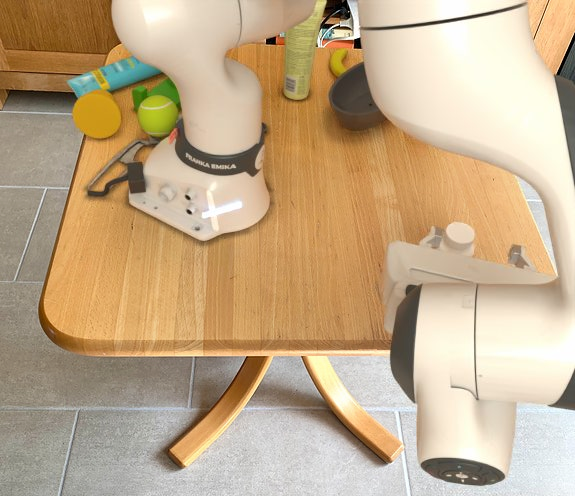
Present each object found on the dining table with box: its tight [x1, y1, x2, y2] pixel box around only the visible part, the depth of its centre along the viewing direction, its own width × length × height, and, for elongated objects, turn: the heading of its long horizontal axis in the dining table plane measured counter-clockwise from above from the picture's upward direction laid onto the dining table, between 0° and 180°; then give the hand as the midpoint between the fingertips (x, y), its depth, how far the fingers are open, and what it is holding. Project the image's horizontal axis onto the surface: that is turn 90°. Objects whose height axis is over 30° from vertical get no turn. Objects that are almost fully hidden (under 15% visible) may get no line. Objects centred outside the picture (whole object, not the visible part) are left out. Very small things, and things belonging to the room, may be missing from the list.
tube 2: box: [282, 0, 328, 101], centre depth 111 cm, size 6×5×20 cm
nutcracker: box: [86, 135, 161, 191], centre depth 103 cm, size 16×1×5 cm
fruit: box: [329, 47, 349, 78], centre depth 124 cm, size 10×2×5 cm
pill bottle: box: [433, 221, 476, 257], centre depth 87 cm, size 5×5×10 cm
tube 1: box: [66, 55, 164, 100], centre depth 117 cm, size 7×5×19 cm
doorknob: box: [71, 89, 123, 139], centre depth 107 cm, size 8×8×8 cm
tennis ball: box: [137, 95, 180, 138], centre depth 105 cm, size 7×7×7 cm
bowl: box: [328, 61, 388, 132], centre depth 114 cm, size 12×22×6 cm, turn 140°
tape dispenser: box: [131, 76, 182, 112], centre depth 114 cm, size 15×7×5 cm, turn 148°
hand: (475, 239), depth 72 cm, fingers open, 8 cm apart
